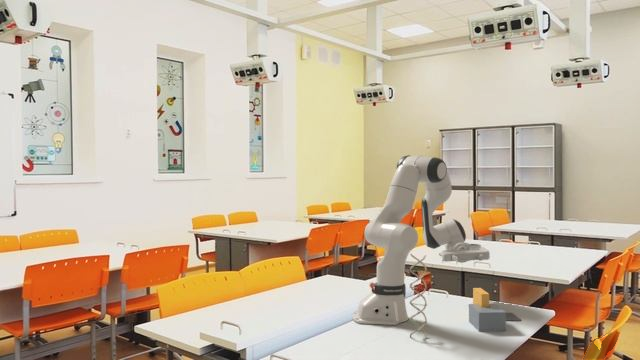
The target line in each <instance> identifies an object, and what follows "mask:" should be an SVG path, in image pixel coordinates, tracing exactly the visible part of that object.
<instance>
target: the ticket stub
mask: <svg viewBox="0 0 640 360" xmlns="http://www.w3.org/2000/svg"><path fill="white" fill-rule="evenodd" d="M472 295H473V296H472V304H478V305H479V306H480V307H489V304H490V293H488V292H487V291H485V290H484V289H483V288H482V287H473V288H472Z"/></svg>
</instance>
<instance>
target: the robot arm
mask: <svg viewBox="0 0 640 360" xmlns="http://www.w3.org/2000/svg"><path fill="white" fill-rule="evenodd" d="M419 183H424V186H425V194H424V197H423V198H422V199H421V216H422V217H421V220H422V221H421V222H422V239H423V242H424V244H425V246H426V247H427V248H430V249H433V250H435V249H438V248H439V247H442V246H444V247H445V249H444V250H442V251H441V252H439V253H438V255H439V256H440V257H441V260H442V261H443V262H456V263H461V264H463V263H467V262H471V261H485V260H486V261H487V260H490V258H491V257H490V254H491V253H490V250H488V249H487V248H485V247H484V246H482V245H481V244H479V243H477V244H476V243H469V242H466V239H467V235H466V231H465V229H464V227H463V225H462V224H461V222H460V221H458V219H457V220H456V219H454V218H452V219H449V220H446V221H444V222H441V223H439V224H435V225H434V223H433V214H434V213H435V211H436V210H437V208H439V207H440V206H441V205H443V204H444V203H446V202H447V201H448V199H450V197H451V195H452V192H453V191H452V189H453V187H452V184H451V180H450V176H449V174H448V168H447V165H446V162H445V161H444V160H443V159H442V158H439V157H432V156H426V155H409V154H408V155H404V156H401V157H400V158H399V160H398V162H397V163H396V170H395V172H394V174H393V177H392V179H391V182H390V185H389V188H388V193H387V195H386V197H385V198H386V199H385V202H384V204H383V206H382V208H381V210H379V213H378V214H377V215H376V216H375V218H374V219H372V220H371V221H369V222H368V223H367V224H366V226H365V228H364V231H363V233H364V234H363V235H364V239H365V240H366V242H367V243H369V244H370V245H372V246H374V247H377V248H380V249H381V248H383V249H385V250H384V253H383V258H381V259H380V260H379V261H378V262H377V264H376V282H375V283H374V282H373V281H371V282H370V283H369V287H370V288H371V292H370V293H369V294H367V295H365V297H363V298H361V299H360V301H359V303H358V305H357V306H358V307H357V311H353V312H352V314H351V315H352V316H351V317H352V320H353V322H355V323H358V324H361V325H362V324H363V325H364V324H366V325H367V324H369V325H385V326H386V325H387V326H388V325H389V326H391V325H392V326H397V325H398V324H401V323H403V322H404V323H405V322H406V321H408V320H409V315H408V313H407V312H408V311H407V306H406V294H407V291H406V290H407V289H406V288H407V287H406V283H405V268H406V267H405V266H406V261H407V258H408V256H409V255H410V252H411V251H413V249H415V248H416V246H417V245H418V241H419V233H418V231H417V229H416V228H414V227H413V226H412V225H409V224H406V223H404V222H401V221H402V220H403V219H404V217H406V216H408V215H409V214H410V213H411V212H412V210H413V207H414V203H415V200H416V196H417V192H418V187H419Z"/></svg>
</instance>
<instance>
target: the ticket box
mask: <svg viewBox="0 0 640 360" xmlns="http://www.w3.org/2000/svg"><path fill="white" fill-rule="evenodd" d="M506 313H507V312H506V311H505V310H504V309H502V308H501V307H500V306H498V305H496V304H495V303H489V307H480V306H479V305H478V304H473V303H468V322H469V324H471V325H472V326H473V327H474V328H475V329H476V330H477V331H478V332H506V330H507V329H506V327H507V321H506Z"/></svg>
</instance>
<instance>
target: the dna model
mask: <svg viewBox="0 0 640 360" xmlns="http://www.w3.org/2000/svg"><path fill="white" fill-rule="evenodd" d="M409 255H410V256H411V257H412V258H413V259H415V260H416V261H417V262H416V263H414V264H413V265H411V266H410V267H409V272H410V273H411V274H412V275H414V276H415V277H417V279H415V280H414V281H413V282H411V283H410V284H409V288H410V289H411V290H412V291H414V292H415V293H416V294H417V296H415V297H413V298H412V299H410V301H409V305H411V306H412V307H413V308H414V309H416V311H417V312H416V313H415V314H414V315H411V316H410V317H408V320H409V321H410V322H412V324H414V325H416V326H417V329H416V330H415V331H412V332H411V333H410V334H409V338H411V337H412V336H413V335H414V334H416V333H418V332H419V331H421V330H422V333H424V338H425V340H427V332H426V330H425V329H424V327H425V326H426V324H427V322H428V320H427V316H426V314H425V313H424V312H423V311H424V310H425V309H426V307H427V306H428V304H427V299H426V297H425V296H424V294H425V292H426V290H427V287H428V286H427V282H426V281H425V280H424V279H423V278H424V276H425V275H426V273H427V272H428V269H427V266H426V264H425V263H424V262H423V261H424V260H425V258H427V255H424V256H423V257H422V258H421V259H419V258H417V257H415V255H413V254H412V253H409ZM419 264H421V265H422V266H423V268H424V270H417V273H419V272H420V273H422V274H421V276H420V275H419V274H417V273H415V272H416V270H413V269H414V267H415V266H417V265H419ZM420 280H421V281H422V283H423V284H424V287H419V288H418V287H417V286H416V287H415V286H413V284H415V283H416V282H418V281H420ZM416 289H422V290H423V291H422V292H421V293H420V292H419V291H418V290H416ZM420 297H421V298H422V299H423V300H424V304H420V303H413V301H415V300H417V299H418V298H420ZM416 305H417V306H423V308H421V309H420V308H419V307H417V306H416ZM420 314H422V316H423V318H424V321H422V320H420V321H419V320H413V318H414V317H416V316H418V315H420ZM417 322H418V323H423V324H422V325H419V324H418V323H417Z"/></svg>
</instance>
